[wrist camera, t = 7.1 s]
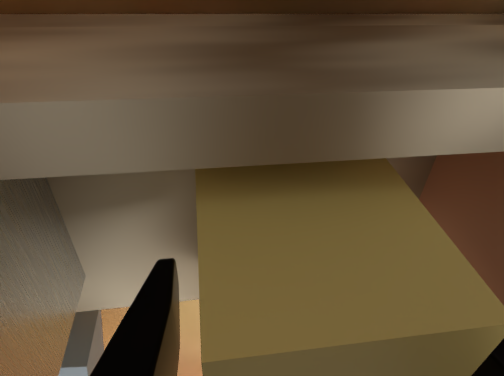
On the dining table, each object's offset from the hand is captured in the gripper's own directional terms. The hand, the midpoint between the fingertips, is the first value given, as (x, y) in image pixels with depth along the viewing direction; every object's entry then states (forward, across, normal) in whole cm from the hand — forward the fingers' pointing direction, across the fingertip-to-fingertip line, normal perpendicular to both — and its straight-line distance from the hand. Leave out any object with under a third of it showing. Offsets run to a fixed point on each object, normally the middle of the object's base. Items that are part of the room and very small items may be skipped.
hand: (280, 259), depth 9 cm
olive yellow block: (+3, 0, 0) cm, 3 cm away
